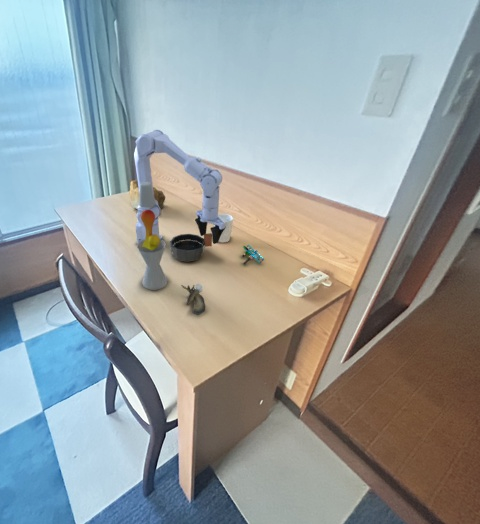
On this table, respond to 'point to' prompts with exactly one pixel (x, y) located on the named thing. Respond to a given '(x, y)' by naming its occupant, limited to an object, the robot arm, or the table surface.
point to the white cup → (228, 223)
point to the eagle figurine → (196, 298)
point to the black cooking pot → (189, 246)
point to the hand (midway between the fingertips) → (209, 238)
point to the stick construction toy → (251, 254)
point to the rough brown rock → (136, 195)
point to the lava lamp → (151, 242)
